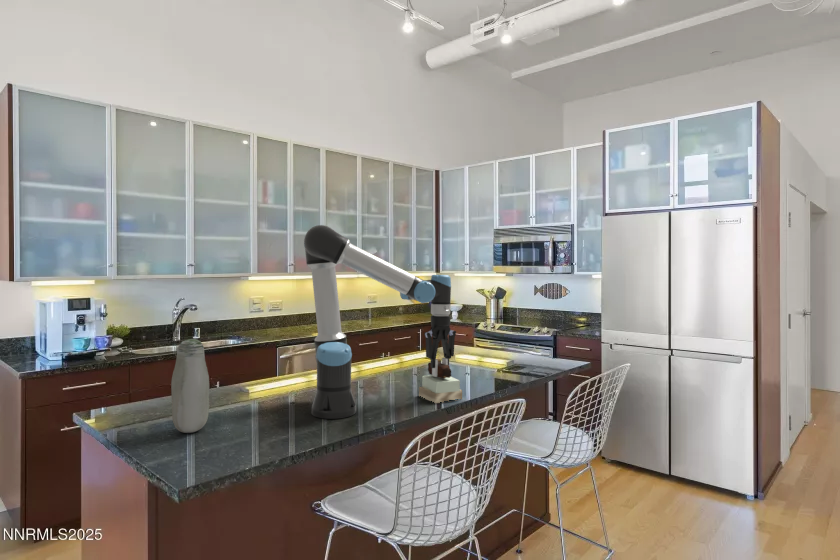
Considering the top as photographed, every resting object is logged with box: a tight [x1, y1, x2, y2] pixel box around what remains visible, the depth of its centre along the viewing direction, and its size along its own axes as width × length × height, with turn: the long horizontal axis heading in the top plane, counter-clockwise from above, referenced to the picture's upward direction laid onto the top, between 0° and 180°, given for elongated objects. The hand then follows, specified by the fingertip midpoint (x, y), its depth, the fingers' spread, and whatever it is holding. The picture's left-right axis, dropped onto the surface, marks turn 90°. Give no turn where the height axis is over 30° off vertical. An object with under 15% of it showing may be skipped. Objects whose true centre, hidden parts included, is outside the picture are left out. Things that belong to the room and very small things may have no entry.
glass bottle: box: [170, 338, 210, 434], centre depth 157 cm, size 10×10×28 cm
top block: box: [421, 374, 461, 393], centre depth 200 cm, size 10×12×4 cm
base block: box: [418, 386, 463, 404], centre depth 200 cm, size 12×12×4 cm
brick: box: [427, 361, 452, 378], centre depth 200 cm, size 11×4×5 cm, turn 32°
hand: (439, 375), depth 200 cm, fingers closed on brick, 4 cm apart
